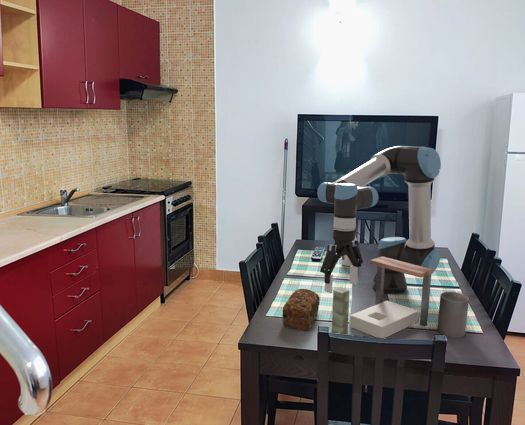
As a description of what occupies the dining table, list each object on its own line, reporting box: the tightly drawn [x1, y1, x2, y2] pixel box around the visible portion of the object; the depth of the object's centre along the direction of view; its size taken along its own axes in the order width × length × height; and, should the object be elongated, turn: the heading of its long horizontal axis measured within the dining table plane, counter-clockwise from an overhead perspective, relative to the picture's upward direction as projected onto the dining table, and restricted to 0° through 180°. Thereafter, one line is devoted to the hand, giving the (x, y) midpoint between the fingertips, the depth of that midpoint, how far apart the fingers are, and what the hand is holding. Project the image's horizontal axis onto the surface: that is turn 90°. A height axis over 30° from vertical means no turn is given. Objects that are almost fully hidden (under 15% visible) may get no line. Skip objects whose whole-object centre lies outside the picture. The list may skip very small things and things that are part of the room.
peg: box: [331, 287, 351, 335], centre depth 182 cm, size 4×4×16 cm
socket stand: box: [349, 256, 434, 339], centre depth 189 cm, size 24×22×22 cm
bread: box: [281, 288, 321, 331], centre depth 193 cm, size 19×11×10 cm, turn 161°
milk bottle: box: [341, 228, 358, 267], centre depth 264 cm, size 8×8×20 cm
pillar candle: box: [436, 291, 470, 339], centre depth 183 cm, size 10×10×15 cm
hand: (341, 287), depth 180 cm, fingers open, 13 cm apart
